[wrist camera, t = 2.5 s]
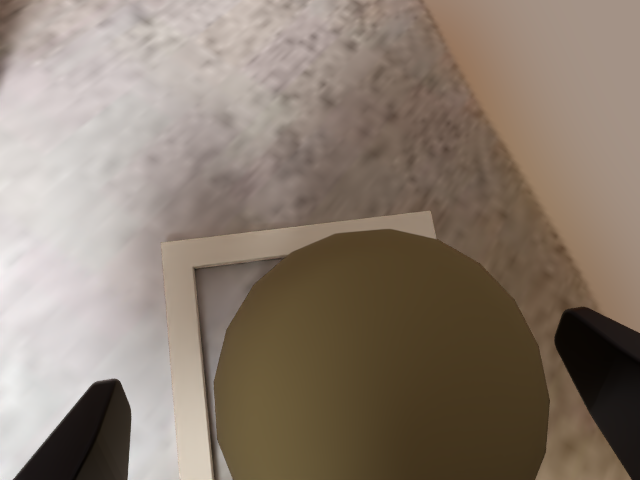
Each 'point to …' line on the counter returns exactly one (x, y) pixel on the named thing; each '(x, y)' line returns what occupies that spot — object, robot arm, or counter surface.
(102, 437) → the robot arm
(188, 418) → the white square frame
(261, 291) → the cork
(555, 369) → the counter surface
